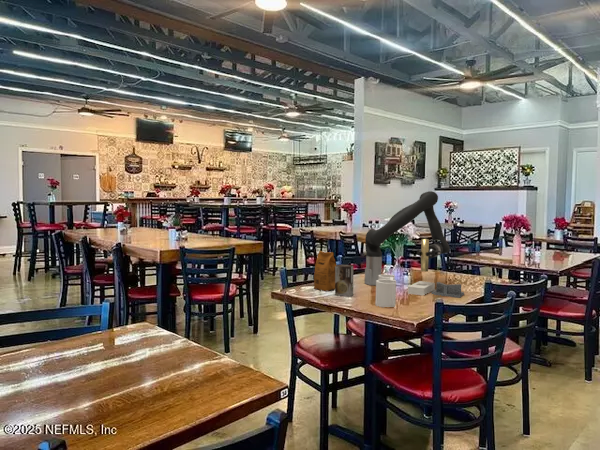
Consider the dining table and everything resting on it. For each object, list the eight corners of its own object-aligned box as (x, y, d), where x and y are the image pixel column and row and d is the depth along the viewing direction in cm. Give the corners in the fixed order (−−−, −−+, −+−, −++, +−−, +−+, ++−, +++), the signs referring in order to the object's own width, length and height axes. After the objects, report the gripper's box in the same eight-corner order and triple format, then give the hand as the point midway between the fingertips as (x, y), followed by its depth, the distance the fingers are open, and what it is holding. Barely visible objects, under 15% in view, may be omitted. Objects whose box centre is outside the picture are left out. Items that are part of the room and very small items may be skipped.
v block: (459, 297, 244) (459, 286, 243) (431, 294, 252) (431, 283, 252) (463, 294, 252) (464, 283, 252) (436, 291, 260) (437, 280, 260)
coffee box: (353, 294, 250) (354, 265, 249) (351, 296, 244) (351, 266, 243) (337, 292, 253) (337, 264, 252) (334, 295, 247) (334, 265, 246)
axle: (423, 271, 256) (424, 239, 255) (419, 270, 260) (420, 239, 258) (429, 271, 257) (430, 239, 256) (425, 270, 261) (425, 238, 260)
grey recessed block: (423, 295, 249) (423, 288, 248) (407, 293, 254) (408, 286, 253) (434, 289, 265) (434, 282, 265) (419, 287, 270) (419, 281, 270)
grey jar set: (376, 296, 246) (377, 274, 245) (395, 297, 244) (395, 274, 243) (375, 307, 222) (375, 282, 221) (395, 308, 220) (396, 283, 219)
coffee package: (323, 286, 271) (323, 249, 270) (338, 289, 262) (339, 251, 260) (311, 288, 264) (311, 250, 263) (326, 292, 255) (326, 253, 254)
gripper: (420, 243, 273) (411, 246, 259) (444, 245, 266) (436, 248, 251) (420, 256, 274) (410, 259, 260) (444, 258, 266) (435, 261, 252)
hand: (423, 253), depth 255 cm, fingers closed on axle, 4 cm apart
